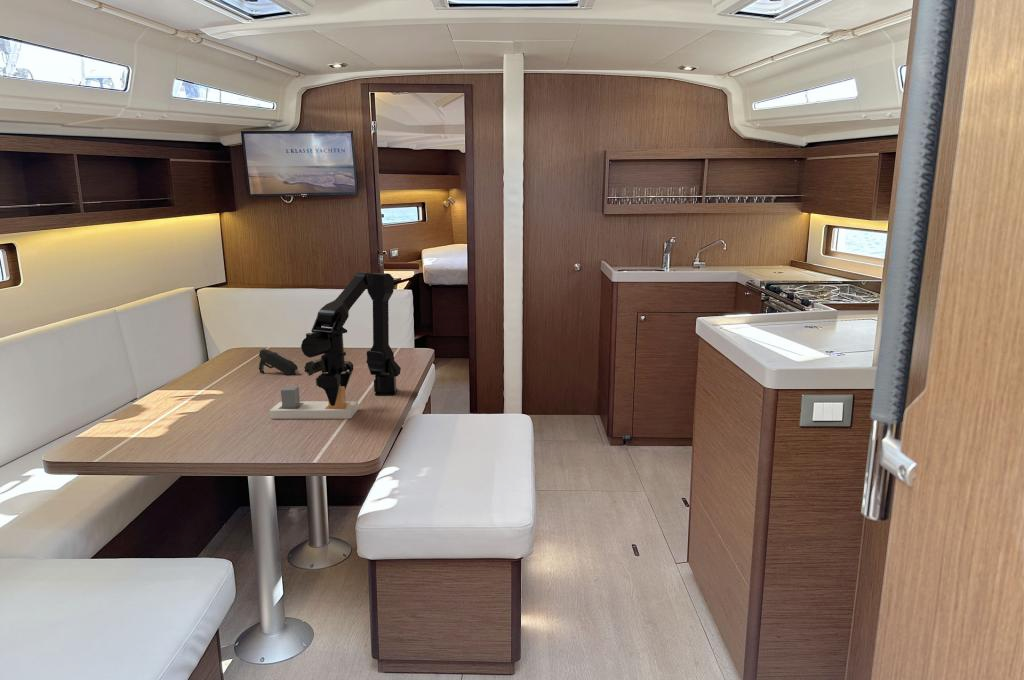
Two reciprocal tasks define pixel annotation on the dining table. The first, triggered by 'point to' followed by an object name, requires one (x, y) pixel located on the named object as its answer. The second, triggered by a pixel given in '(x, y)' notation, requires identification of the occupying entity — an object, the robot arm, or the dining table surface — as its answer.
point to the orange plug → (339, 400)
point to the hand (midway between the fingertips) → (337, 400)
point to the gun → (276, 362)
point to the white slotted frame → (314, 411)
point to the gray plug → (290, 397)
